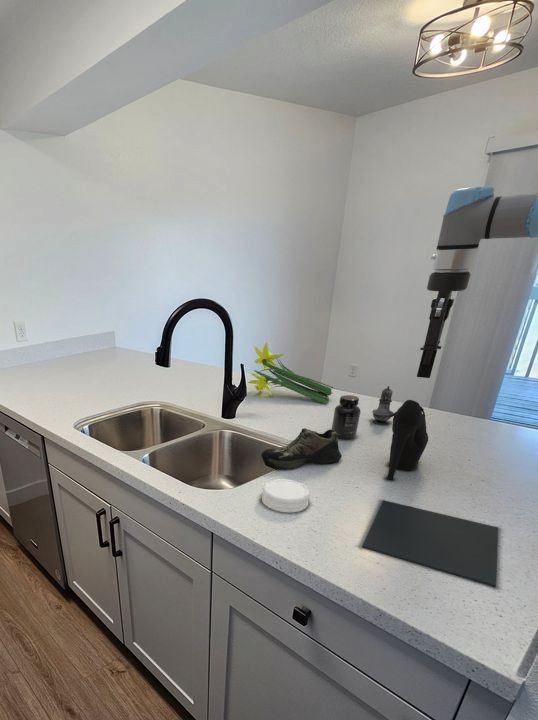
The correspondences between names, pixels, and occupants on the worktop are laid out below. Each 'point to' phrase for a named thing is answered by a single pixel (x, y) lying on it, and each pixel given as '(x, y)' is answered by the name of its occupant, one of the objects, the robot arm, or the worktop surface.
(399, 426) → the high-heeled shoe
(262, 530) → the worktop surface
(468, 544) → the mat
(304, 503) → the coaster
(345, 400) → the supplement bottle
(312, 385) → the daffodil flowers
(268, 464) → the hiking shoe
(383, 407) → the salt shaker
